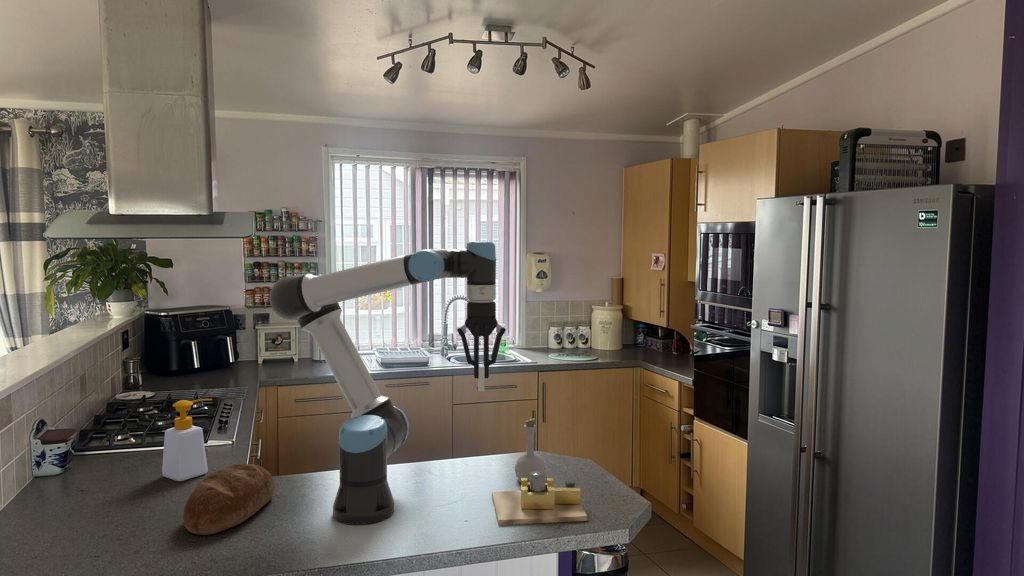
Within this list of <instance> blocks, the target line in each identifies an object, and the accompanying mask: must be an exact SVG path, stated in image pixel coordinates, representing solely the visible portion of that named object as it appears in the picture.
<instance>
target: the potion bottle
mask: <svg viewBox="0 0 1024 576" xmlns="http://www.w3.org/2000/svg"><path fill="white" fill-rule="evenodd" d="M535 421H536V420H535V418H529V419H526V420H525V424H524V425H523V431H524V433H525V435H526V439H525V440H526V441H525V442H526V444H525V445H526V451H525V452H526V453H522V454H520V455H519V456H518V457H517V459H516V461H515V462H516V463H515V467H514V471H515V477H516V478H518V480H517V481H518V482H519V483H521V478H527V482H529V483H530V473H531V472H533V471H542V472H544V473H545V472H546V466H545V462H544V459H543V458H542V457H541V456H540V454H538V453H535V448H534V447H535V446H534V445H535V433H536V431H537V425H536V424H535ZM545 474H546V473H545Z"/></svg>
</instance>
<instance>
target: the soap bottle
mask: <svg viewBox="0 0 1024 576" xmlns="http://www.w3.org/2000/svg"><path fill="white" fill-rule="evenodd" d="M212 400H213V398H199V399H195V400H189V399H188V400H186V399H180V400H178V401H176V402H174V403H173V404H172V407H173V408H175V411H176V412H179V414H180V415H179V417H176V418H174V427H171V428H167V429H166V430H165V431H164V438H163V439H164V440H163V441H164V442H163V453H162V467H161V474H162V476H163V478H164V477H165V478H167V479H170V480H172V481H176V482H185V481H186V480H190V479H192V478H196V477H199V476H202V475H205V474H206V473H208V471H209V468H208V461H207V454H206V446H205V440H204V431H203V428H202V427H200V426H198V425H197V426H195V425H193V417H192V416H187V411H190V410H191V406H192V405H194V403H197V402H202V401H212Z"/></svg>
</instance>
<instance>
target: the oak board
mask: <svg viewBox="0 0 1024 576" xmlns="http://www.w3.org/2000/svg"><path fill="white" fill-rule="evenodd" d="M491 499H492V503H493V508H494V512H495V516H496V520H497V525H498V526H503V525H506V526H507V525H525V524H526V525H527V524H543V523H544V524H546V523H563V522H566V523H567V522H584V521H585V522H586V521H588V514H587V513H586V511H585V509H584V507H583V506H582V503H581V504H555V509H521V490H505V491H501V490H500V491H491Z"/></svg>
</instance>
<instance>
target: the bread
mask: <svg viewBox="0 0 1024 576" xmlns="http://www.w3.org/2000/svg"><path fill="white" fill-rule="evenodd" d="M275 485H276V484H275V480H274V477H273V476H272V474H271V473H270V471H269V470H267V469H266V468H264V467H263V466H260V465H258V464H254V463H237V464H232V465H228V466H227V467H224V468H223V469H221V470H218V471H215V472H213V473H211V474H209V475H207V476H205V478H204V479H203V480H202V481H201V482H200V483H199V484H198V485H197V486H196V487H195V488H194V489H193V491H192V492H191V494H190V495H189V497H188V499H187V501H186V503H185V506H184V510H183V515H182V520H183V525H184V527H185V529H186V530H187V531H188V532H190V533H191V534H194V535H200V536H207V535H209V536H210V535H214V534H217V533H221V532H223V531H225V530H227V529H228V530H229V529H230V528H233V527H235V526H238V525H240V524H241V523H243V522H245V521H246V520H248V519H250V518H251V517H252V516H254V515H255V514H257V512H258V511H259V510H261V509H262V508H263V507H264V506H265V505H266V504H267V503H269V501H270V500H271V499H272V497H273V496H274V494H275V490H276V489H275V488H276V486H275Z"/></svg>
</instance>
